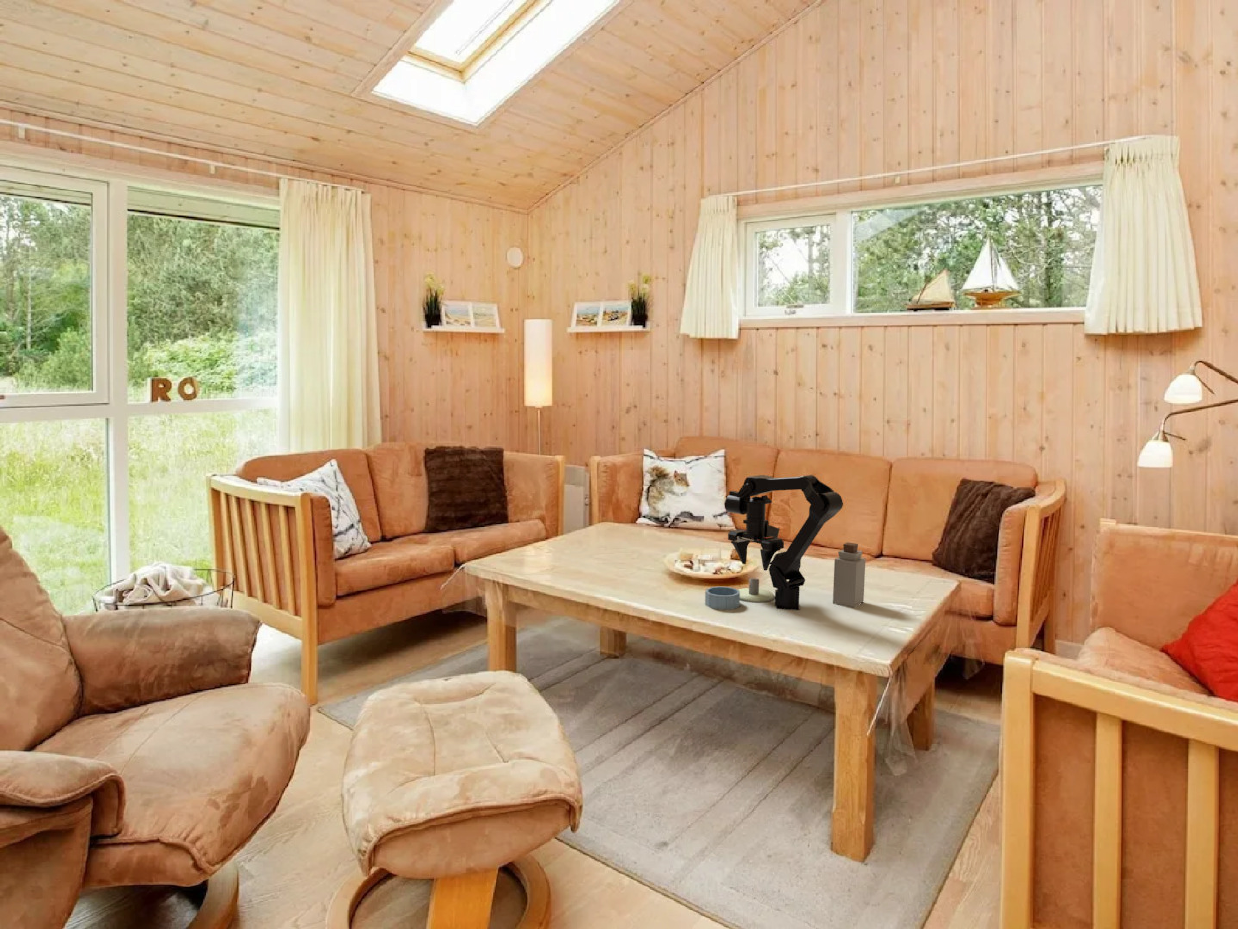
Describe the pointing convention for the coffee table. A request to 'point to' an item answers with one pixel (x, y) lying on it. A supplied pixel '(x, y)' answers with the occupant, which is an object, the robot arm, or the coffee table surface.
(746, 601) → the mat
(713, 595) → the bowl
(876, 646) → the coffee table surface
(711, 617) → the coffee table surface
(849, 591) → the perfume bottle
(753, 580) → the lid
